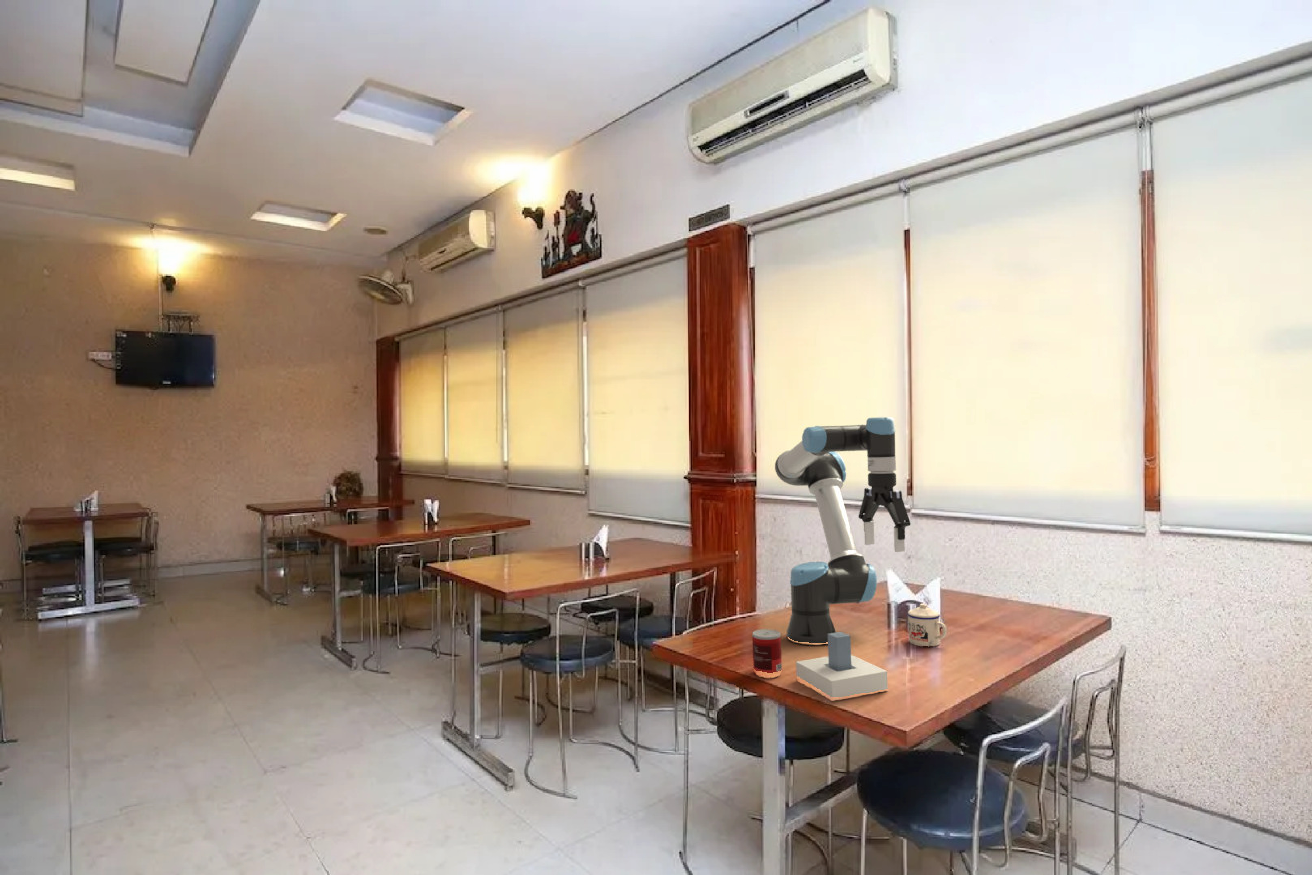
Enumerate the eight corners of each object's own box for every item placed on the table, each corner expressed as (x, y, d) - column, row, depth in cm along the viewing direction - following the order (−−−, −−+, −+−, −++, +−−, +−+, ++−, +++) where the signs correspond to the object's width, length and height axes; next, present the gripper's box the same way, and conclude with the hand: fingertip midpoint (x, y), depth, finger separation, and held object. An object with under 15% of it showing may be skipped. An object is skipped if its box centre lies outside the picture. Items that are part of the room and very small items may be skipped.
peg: (829, 684, 176) (827, 633, 176) (842, 682, 177) (840, 631, 177) (838, 689, 172) (836, 637, 172) (852, 687, 174) (850, 635, 174)
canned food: (778, 668, 190) (777, 628, 190) (785, 678, 182) (783, 636, 182) (751, 669, 189) (749, 629, 189) (756, 679, 181) (754, 637, 181)
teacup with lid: (902, 642, 209) (900, 603, 209) (920, 636, 214) (919, 599, 214) (937, 651, 199) (936, 611, 199) (955, 645, 204) (954, 606, 204)
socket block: (796, 680, 179) (796, 661, 179) (848, 671, 185) (847, 653, 185) (832, 701, 164) (832, 681, 164) (887, 691, 170) (887, 671, 170)
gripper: (845, 471, 204) (847, 542, 204) (898, 474, 180) (901, 555, 180) (866, 469, 206) (869, 540, 206) (922, 473, 182) (925, 553, 183)
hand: (884, 547), depth 193 cm, fingers open, 13 cm apart
